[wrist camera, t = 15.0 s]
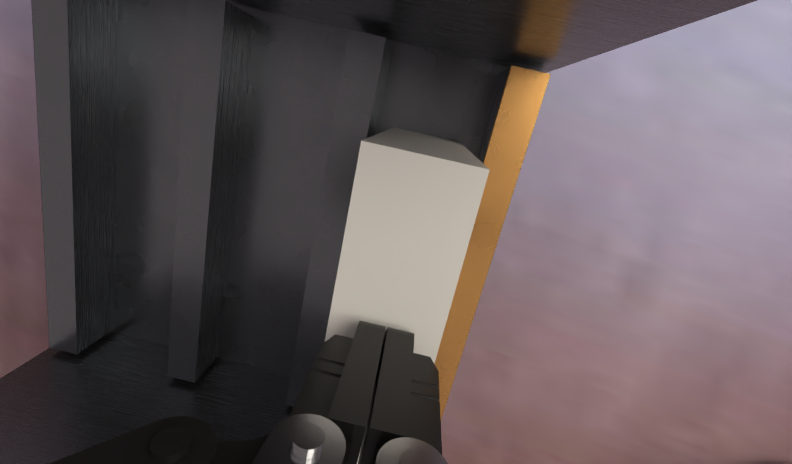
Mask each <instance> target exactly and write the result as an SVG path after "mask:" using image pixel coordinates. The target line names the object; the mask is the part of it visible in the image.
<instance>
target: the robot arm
mask: <svg viewBox="0 0 792 464" xmlns="http://www.w3.org/2000/svg"><path fill="white" fill-rule="evenodd" d="M385 328H386V327H385V326H381V325H377V324H373V323H369V322H364V321H359V323H358V326H357V329H356V332H355V335H354V338H349V337H344V336H340V335H336V334H335V335H334V336H332V337H331V338H330V339H328V340H327V341H325V342H324V343H323V344H322V346H321V348H320V350H319V352H318V354H317V357H316V360H315V361H314V363H313V365H312V367H311V371H310V372H309V374H308V376H307V378H306V381H305V383H304V385H303V387H302V389H301V391H300V394H299V396H298V398H297V400H296V402H295V405H294V407H293V409H292V411H291V413H290V415H289V417H288V418H286V419H284V420H282V421H281V422H279V423H278V424H277V425H276V426H275V427H274V428H273V429H272V431H271V432H270V434H268V435H266V436H264V437H261V438H257V439H253V440H246V441H227V442H217V441H218V440H217V435H216V433H215V431H214V429H213V428H212V427H211V426H210V425H209V424H208V423H206V422H205V421H203V420H200V419H198V418H194V417H188V416H176V417H169V418H165V419H161V420H158V421H155V422H153V423H150V424H148V425H145V426H142V427H140V428H137V429H135V430H132V431H130V432H127V433H125V434H122V435H120V436H117V437H115V438H112V439H110V440H107V441H105V442H102V443H99V444H97V445H94V446H92V447H89V448H87V449H84V450H82V451H79V452H77V453H74V454H72V455H69V456H67V457H64V458H62V459H59V460H57V461H54V462H51V463H49V464H357V461H358V464H448V463H447V461H446V460H445V458H444V457H443V456H442V443H441V419H440V402H439V399H440V395H439V371H438V369H437V368H436V366H435V364H434V363H433V361H432V359H431V357H429V356H425V355H420V354H416V353H413V351H414V333H411V332H407V331H403V330H398V329H394V328H390V327H388V329H387V333H386V337H385V341H384V345H383V349H382V353H381V348H382V343H383V338H384V333H385ZM380 353H381V357H380ZM379 359H380V361H379ZM378 364H379V365H378ZM360 449H361V450H360ZM359 453H360V455H359ZM358 457H359V460H358Z"/></svg>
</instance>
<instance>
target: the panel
mask: <svg viewBox="0 0 792 464" xmlns="http://www.w3.org/2000/svg"><path fill="white" fill-rule="evenodd" d="M489 171H490V169H489V168H488V167H486V166H485V165H484V164H483V163H482V162H481V161H480V160H479V159H478V158H477V157H475V156H474V155H473V154H472V153H471V152H470V151H469V150H468V149H467V148H466V147H465V146H463V145H462V144H461V143H460V142H458V141H453V140H449V139H444V138H440V137H435V136H431V135H426V134H422V133H417V132H413V131H408V130H404V129H400V128H395V127H393V128H391V129H388V130H386V131H383V132H381V133H379V134H376V135H374V136H371V137H369V138H366V139H364V140H362V141H361V145H360V150H359V156H358V161H357V167H356V172H355V178H354V183H353V189H352V194H351V200H350V205H349V211H348V216H347V222H346V227H345V233H344V238H343V244H342V249H341V255H340V260H339V266H338V271H337V277H336V282H335V287H334V293H333V298H332V304H331V309H330V315H329V320H328V326H327V331H326V337H325V341H327V340H328V339H330V338H331V337H332V336H334V335H335V334H336V335H340V336H344V337H349V338H354V335H355V332H356V329H357V326H358V323H359V321H364V322H369V323H373V324H377V325H381V326H385V327H386V328H385V333H384V338H383V343H382V348H381V353H382V349H383V345H384V341H385V337H386V333H387V329H388V327H390V328H394V329H398V330H403V331H407V332H411V333H414V351H413V353H416V354H420V355H425V356H429V357H431V359H432V361H433V363H434V364H435V360H436V357H437V353H438V349H439V346H440V342H441V339H442V335H443V332H444V328H445V325H446V321H447V318H448V314H449V311H450V307H451V304H452V300H453V297H454V293H455V290H456V286H457V283H458V279H459V276H460V272H461V269H462V265H463V262H464V258H465V255H466V251H467V248H468V244H469V241H470V237H471V234H472V230H473V227H474V223H475V220H476V216H477V213H478V209H479V206H480V202H481V199H482V195H483V192H484V188H485V185H486V181H487V178H488V174H489ZM381 353H380V357H381ZM379 361H380V359H379ZM378 365H379V364H378ZM360 450H361V449H360ZM359 455H360V453H359ZM358 460H359V457H358ZM357 464H358V461H357Z"/></svg>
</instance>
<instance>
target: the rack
mask: <svg viewBox="0 0 792 464" xmlns="http://www.w3.org/2000/svg"><path fill="white" fill-rule="evenodd" d="M754 1H757V0H31V2H32V21H33V40H34V59H35V78H36V98H37V117H38V136H39V155H40V174H41V193H42V213H43V232H44V251H45V270H46V289H47V309H48V328H49V347H50V348H49V349H47V350H46V351H44V352H42V353H41V354H39V355H37V356H36V357H34V358H33V359H31V360H29V361H28V362H26V363H25V364H23V365H21V366H20V367H18V368H17V369H15V370H13V371H12V372H10V373H8V374H7V375H5V376H4V377H2V378H0V464H49V463H51V462H54V461H57V460H59V459H62V458H64V457H67V456H69V455H72V454H74V453H77V452H79V451H82V450H84V449H87V448H89V447H92V446H94V445H97V444H99V443H102V442H105V441H107V440H110V439H112V438H115V437H117V436H120V435H122V434H125V433H127V432H130V431H132V430H135V429H137V428H140V427H142V426H145V425H148V424H150V423H153V422H155V421H158V420H161V419H165V418H169V417H176V416H188V417H194V418H198V419H200V420H203V421H205V422H206V423H208V424H209V425H210V426H211V427H212V428H213V429H214V431H215V433H216V435H217V440H218V441H217V442H227V441H246V440H253V439H257V438H261V437H264V436H266V435H268V434H270V432H271V431H272V429H273V428H274V427H275V426H276V425H277V424H278V423H279V422H281V421H282V420H284V419H286V418H288V417H289V415H290V413H291V411H292V409H293V407H294V405H295V402H296V400H297V398H298V396H299V394H300V391H301V389H302V387H303V385H304V383H305V381H306V378H307V376H308V374H309V372H310V371H311V367H312V365H313V363H314V361H315V360H316V357H317V354H318V352H319V350H320V348H321V346H322V344H323V343H324V342H325V337H326V331H327V326H328V320H329V315H330V309H331V304H332V298H333V293H334V287H335V282H336V277H337V271H338V266H339V260H340V255H341V249H342V244H343V238H344V233H345V227H346V222H347V216H348V211H349V205H350V200H351V194H352V189H353V183H354V178H355V172H356V167H357V161H358V156H359V150H360V145H361V141H362V140H364V139H366V138H369V137H371V136H374V135H376V134H379V133H381V132H383V131H386V130H388V129H391V128H393V127H395V128H400V129H404V130H408V131H413V132H417V133H422V134H426V135H431V136H435V137H440V138H444V139H449V140H453V141H458V142H460V143H461V144H462V145H463V146H465V147H466V148H467V149H468V150H469V151H470V152H471V153H472V154H473V155H474V156H475V157H477V158H478V159H479V160H480V161H481V162H482V163H483V164H484V165H485V166H486V167H488V168H489V169H490V171H489V174H488V178H487V181H486V185H485V188H484V192H483V195H482V199H481V202H480V206H479V209H478V213H477V216H476V220H475V223H474V227H473V230H472V234H471V237H470V241H469V244H468V248H467V251H466V255H465V258H464V262H463V265H462V269H461V272H460V276H459V279H458V283H457V286H456V290H455V293H454V297H453V300H452V304H451V307H450V311H449V314H448V318H447V321H446V325H445V328H444V332H443V335H442V339H441V342H440V346H439V349H438V353H437V357H436V360H435V366H436V368H437V369H438V371H439V395H440V399H439V402H440V419H441V418H442V415H443V412H444V409H445V406H446V403H447V400H448V396H449V393H450V390H451V387H452V384H453V381H454V377H455V374H456V371H457V368H458V365H459V362H460V358H461V355H462V352H463V349H464V346H465V343H466V340H467V336H468V333H469V330H470V327H471V324H472V321H473V317H474V314H475V311H476V308H477V305H478V302H479V299H480V295H481V292H482V289H483V286H484V283H485V280H486V276H487V273H488V270H489V267H490V264H491V261H492V258H493V254H494V251H495V248H496V245H497V242H498V239H499V235H500V232H501V229H502V226H503V223H504V220H505V216H506V213H507V210H508V207H509V204H510V201H511V198H512V194H513V191H514V188H515V185H516V182H517V179H518V175H519V172H520V169H521V166H522V163H523V160H524V157H525V153H526V150H527V147H528V144H529V141H530V138H531V134H532V131H533V128H534V125H535V122H536V119H537V115H538V112H539V109H540V106H541V103H542V100H543V97H544V93H545V90H546V87H547V84H548V81H549V78H550V74H547V73H546V72H549V71H552V70H555V69H558V68H561V67H564V66H567V65H570V64H573V63H576V62H579V61H581V60H584V59H587V58H590V57H593V56H596V55H599V54H602V53H605V52H608V51H611V50H614V49H617V48H619V47H622V46H625V45H628V44H631V43H634V42H637V41H640V40H643V39H646V38H649V37H652V36H654V35H657V34H660V33H663V32H666V31H669V30H672V29H675V28H678V27H681V26H684V25H687V24H689V23H692V22H695V21H698V20H701V19H704V18H707V17H710V16H713V15H716V14H719V13H722V12H725V11H727V10H730V9H733V8H736V7H739V6H742V5H745V4H748V3H751V2H754Z"/></svg>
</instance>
